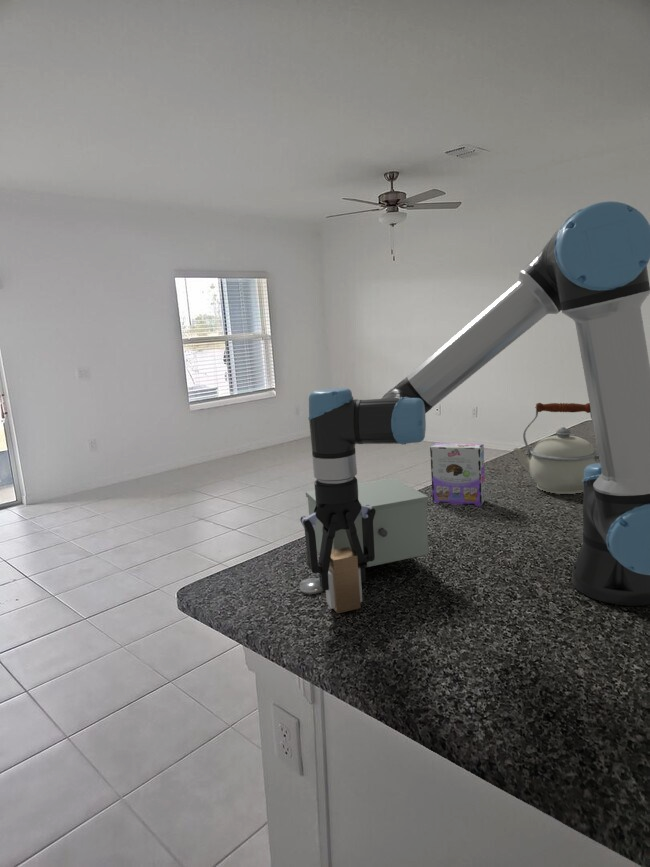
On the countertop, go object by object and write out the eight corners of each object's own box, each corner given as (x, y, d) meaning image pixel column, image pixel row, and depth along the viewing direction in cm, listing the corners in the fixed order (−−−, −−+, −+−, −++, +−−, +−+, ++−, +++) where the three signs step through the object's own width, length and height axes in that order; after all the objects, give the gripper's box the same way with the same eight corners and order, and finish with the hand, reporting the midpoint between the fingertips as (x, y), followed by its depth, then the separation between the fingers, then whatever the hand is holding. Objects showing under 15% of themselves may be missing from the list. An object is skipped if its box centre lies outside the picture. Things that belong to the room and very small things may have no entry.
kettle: (608, 482, 162) (610, 398, 158) (600, 501, 147) (602, 408, 143) (520, 476, 176) (520, 398, 171) (505, 492, 161) (504, 407, 156)
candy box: (486, 500, 154) (484, 443, 152) (481, 507, 149) (480, 447, 146) (437, 497, 161) (435, 441, 158) (431, 503, 156) (429, 446, 153)
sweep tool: (360, 608, 99) (357, 555, 97) (337, 613, 98) (333, 560, 96) (333, 574, 113) (330, 528, 112) (312, 578, 112) (308, 532, 110)
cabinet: (433, 573, 112) (430, 497, 109) (337, 595, 106) (331, 515, 103) (396, 544, 128) (392, 477, 125) (311, 561, 122) (305, 491, 119)
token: (327, 592, 107) (327, 587, 107) (302, 596, 107) (301, 591, 106) (322, 581, 112) (322, 576, 112) (298, 585, 111) (297, 580, 111)
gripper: (373, 466, 102) (380, 583, 106) (281, 480, 97) (292, 603, 101) (390, 475, 95) (397, 600, 99) (292, 491, 90) (303, 622, 94)
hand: (344, 601), depth 100 cm, fingers closed on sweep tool, 4 cm apart
